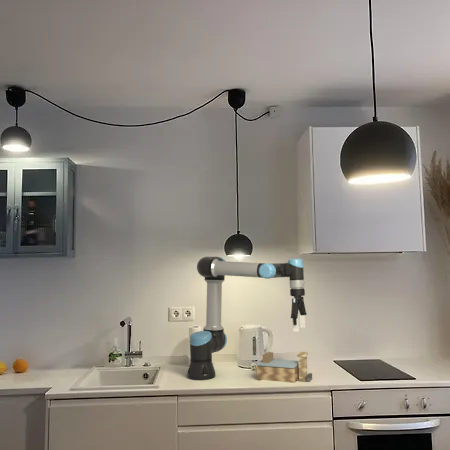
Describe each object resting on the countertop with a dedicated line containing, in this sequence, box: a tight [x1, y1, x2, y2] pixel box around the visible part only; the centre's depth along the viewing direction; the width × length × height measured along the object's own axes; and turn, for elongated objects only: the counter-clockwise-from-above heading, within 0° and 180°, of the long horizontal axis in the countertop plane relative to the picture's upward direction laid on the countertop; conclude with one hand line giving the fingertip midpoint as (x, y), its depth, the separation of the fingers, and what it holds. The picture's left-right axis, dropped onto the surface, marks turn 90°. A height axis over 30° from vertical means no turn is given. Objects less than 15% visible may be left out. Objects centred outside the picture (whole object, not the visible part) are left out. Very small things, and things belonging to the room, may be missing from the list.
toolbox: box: [256, 365, 313, 384], centre depth 231 cm, size 26×13×7 cm, turn 64°
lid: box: [256, 351, 299, 368], centre depth 233 cm, size 20×13×5 cm, turn 64°
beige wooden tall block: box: [296, 351, 309, 382], centre depth 227 cm, size 4×4×14 cm
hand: (299, 329), depth 231 cm, fingers open, 13 cm apart
